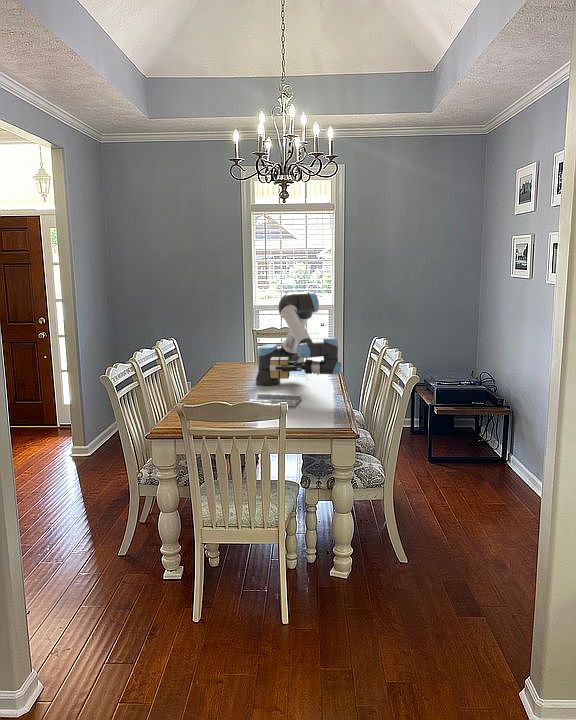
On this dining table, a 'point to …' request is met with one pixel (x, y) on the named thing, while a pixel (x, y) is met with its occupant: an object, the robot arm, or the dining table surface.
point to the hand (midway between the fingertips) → (272, 365)
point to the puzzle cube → (279, 374)
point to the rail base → (278, 399)
